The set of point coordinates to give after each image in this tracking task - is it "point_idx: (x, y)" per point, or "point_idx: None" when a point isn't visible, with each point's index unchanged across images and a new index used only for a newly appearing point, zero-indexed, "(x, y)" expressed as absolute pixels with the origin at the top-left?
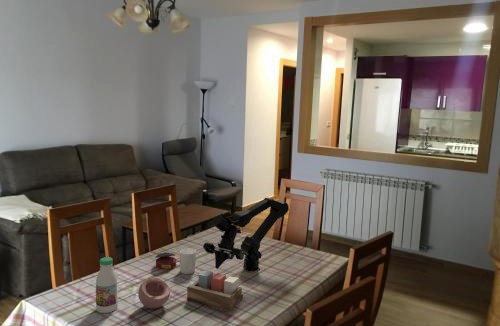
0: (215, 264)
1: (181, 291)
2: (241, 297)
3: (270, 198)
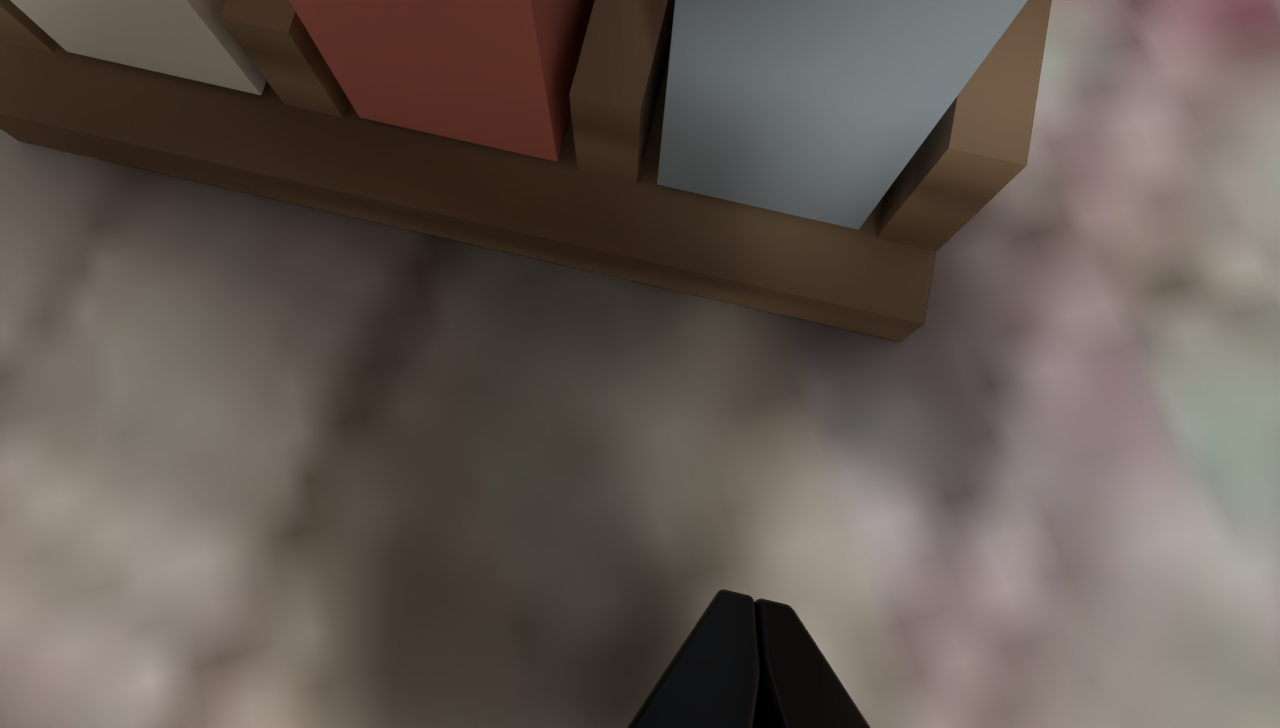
0: (831, 674)
1: (1239, 119)
2: (8, 50)
3: None
